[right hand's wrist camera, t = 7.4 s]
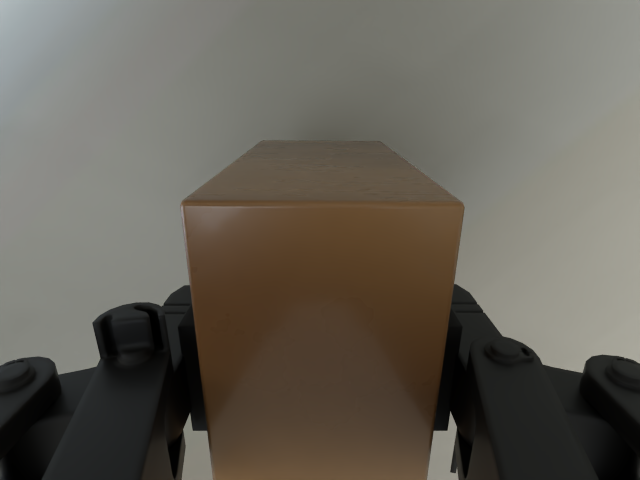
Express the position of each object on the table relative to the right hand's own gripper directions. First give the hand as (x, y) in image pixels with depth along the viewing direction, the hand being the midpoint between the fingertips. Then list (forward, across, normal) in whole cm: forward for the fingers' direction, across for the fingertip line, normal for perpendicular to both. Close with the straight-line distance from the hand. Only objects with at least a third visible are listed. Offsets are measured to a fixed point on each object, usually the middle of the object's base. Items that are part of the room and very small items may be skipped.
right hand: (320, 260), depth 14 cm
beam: (+1, 0, -23) cm, 23 cm away
